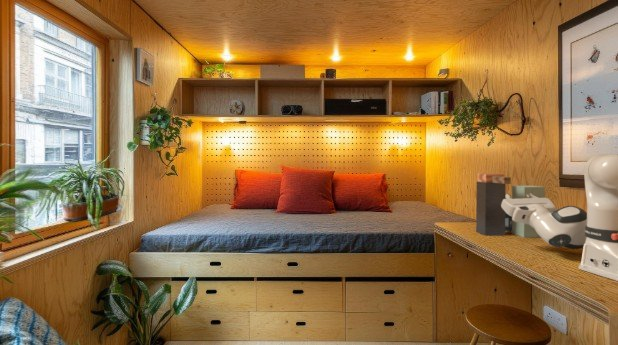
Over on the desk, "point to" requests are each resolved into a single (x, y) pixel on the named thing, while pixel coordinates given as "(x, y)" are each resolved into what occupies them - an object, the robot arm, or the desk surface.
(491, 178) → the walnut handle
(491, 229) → the tower
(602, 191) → the robot arm
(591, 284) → the desk surface
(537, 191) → the sage tower
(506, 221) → the vhs cassette tape
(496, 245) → the desk surface
